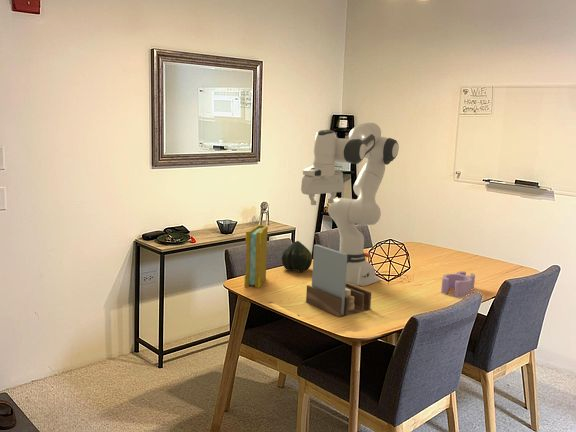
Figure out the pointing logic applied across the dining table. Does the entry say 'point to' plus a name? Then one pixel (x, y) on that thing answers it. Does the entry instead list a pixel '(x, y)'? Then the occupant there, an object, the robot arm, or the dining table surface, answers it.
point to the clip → (458, 283)
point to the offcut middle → (351, 299)
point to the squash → (297, 257)
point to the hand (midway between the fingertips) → (322, 204)
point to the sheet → (330, 272)
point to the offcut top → (347, 292)
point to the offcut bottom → (351, 306)
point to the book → (256, 255)
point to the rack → (339, 301)
